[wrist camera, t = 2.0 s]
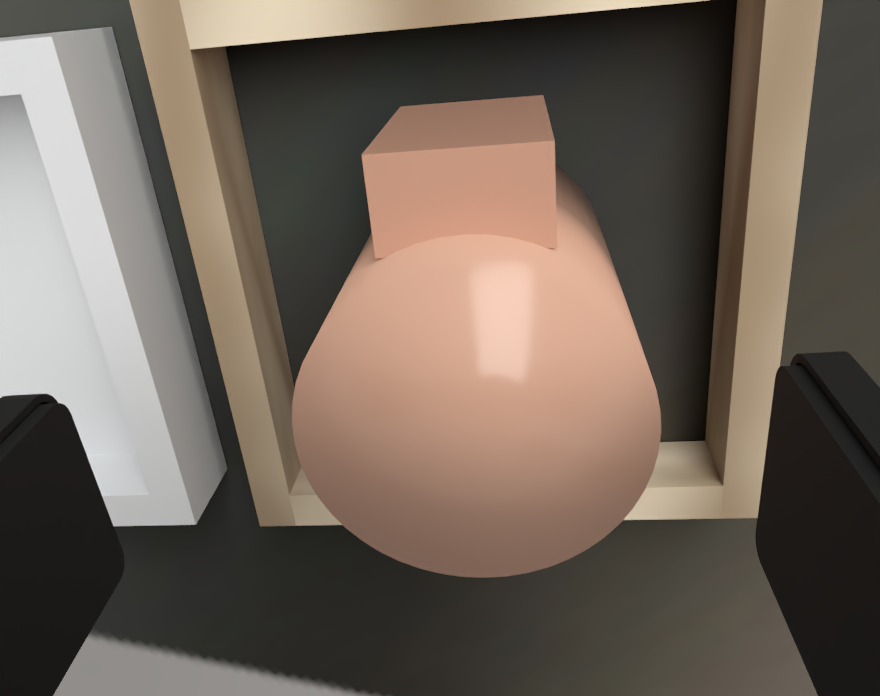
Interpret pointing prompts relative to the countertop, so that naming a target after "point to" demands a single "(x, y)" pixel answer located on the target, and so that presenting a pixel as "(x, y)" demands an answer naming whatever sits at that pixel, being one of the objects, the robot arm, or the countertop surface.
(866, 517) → the robot arm
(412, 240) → the pink cylinder with tab
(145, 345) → the tray
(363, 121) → the countertop surface
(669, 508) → the light wooden square frame
